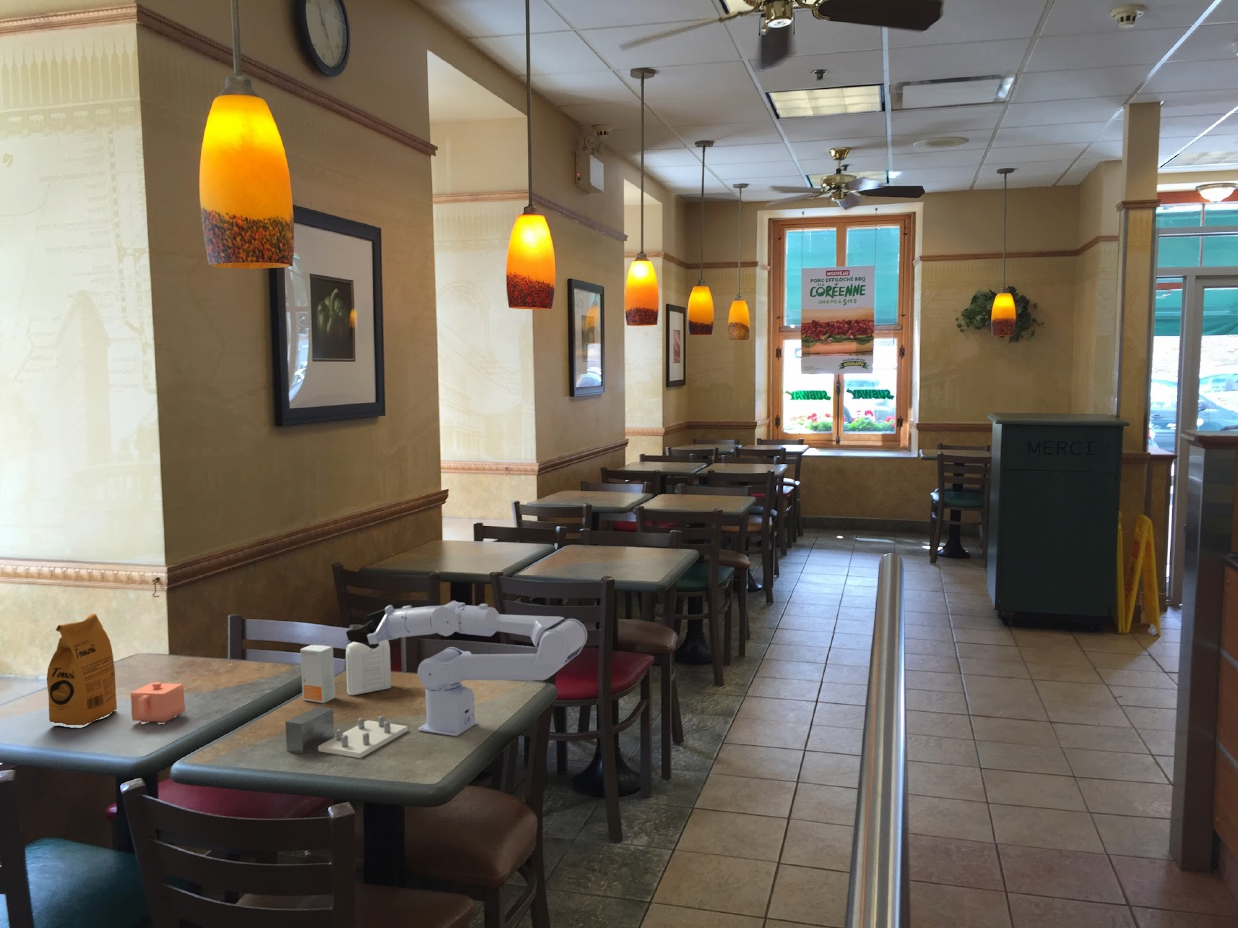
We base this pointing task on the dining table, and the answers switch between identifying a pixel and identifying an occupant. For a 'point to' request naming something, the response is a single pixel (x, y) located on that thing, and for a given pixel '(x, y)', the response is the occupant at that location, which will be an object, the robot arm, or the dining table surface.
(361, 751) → the pin tray
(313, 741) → the block
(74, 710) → the coffee package
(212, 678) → the dining table surface
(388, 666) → the photo printer
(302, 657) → the skincare box
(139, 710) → the pink cube teapot
